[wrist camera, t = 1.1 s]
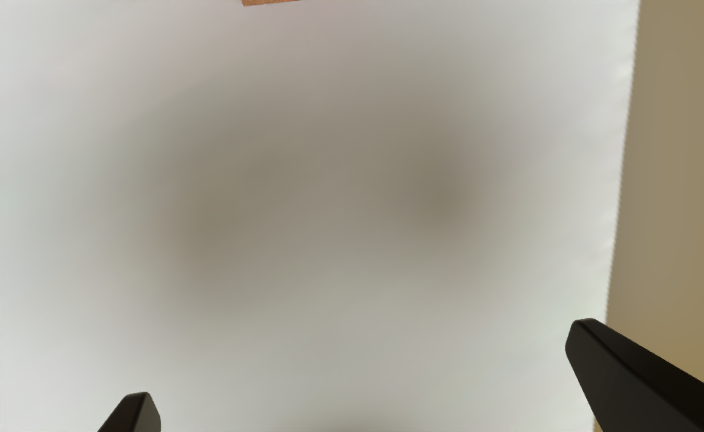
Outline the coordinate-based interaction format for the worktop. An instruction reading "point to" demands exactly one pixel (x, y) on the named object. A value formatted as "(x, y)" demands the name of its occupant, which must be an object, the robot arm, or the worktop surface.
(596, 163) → the worktop surface
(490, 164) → the worktop surface
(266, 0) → the tin
